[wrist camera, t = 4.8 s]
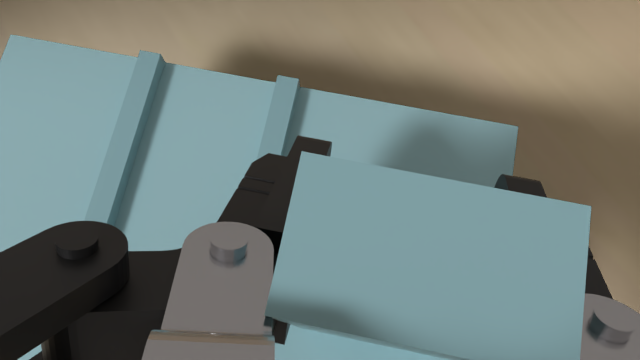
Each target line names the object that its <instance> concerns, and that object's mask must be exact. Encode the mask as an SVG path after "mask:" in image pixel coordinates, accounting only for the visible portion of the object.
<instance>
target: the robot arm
mask: <svg viewBox="0 0 640 360" xmlns="http://www.w3.org/2000/svg"><path fill="white" fill-rule="evenodd" d="M331 149H332V142H331V141H325V140H320V139H315V138H309V137H304V136H299V135H298V136H297V137H296V139H295V141H294V144H293V146H292V148H291V150H290V152H289V154H288V156H281V155H276V154H271V153H268V154H266V155H264V156H263V157H261V158H259V159H257V160H255V161H254V162H252V163H251V165H250V167H249V169H248V170H247V172H246V174H245V175H244V178H243V179H242V180H241V182H240V184H239V185H238V189H236V190H235V192H234V194H233V196H232V197H231V199H230V201H229V202H228V204H227V206H226V207H225V209H224V211H223V212H222V214H221V216H220V217H219V219H218V221H217V222H216V223H210V224H207V225H204V226H201V227H199V228H197V229H195V230H194V231H192V232H191V233H190V234H189V235H188V236H187V237H186V239H185V240H184V243H183V246H182V248H179V249H174V250H165V251H128V241H127V238H126V236H125V234H124V233H123V232H122V231H121V230H119V229H118V228H116V227H114V226H112V225H110V224H107V223H103V222H97V221H74V222H67V223H63V224H59V225H56V226H53V227H51V228H48V229H46V230H44V231H42V232H40V233H38V234H36V235H34V236H32V237H30V238H28V239H26V240H24V241H22V242H20V243H18V244H16V245H14V246H12V247H10V248H8V249H6V250H4V251H2V252H0V360H18V359H19V358H21V357H22V356H24V355H25V354H27V353H28V352H30V351H31V350H33V349H34V348H36V347H37V346H39V345H40V344H41V348H42V351H41V352H39V353H38V354H36V355H35V356H33V357H32V358H31V359H29V360H275V343H278V344H283V345H285V341H286V338H287V335H288V331H289V328H290V324H289V323H285V322H282V321H279V320H276V319H273V318H272V317H268V316H264V314H265V310H266V306H267V301H268V297H269V292H270V288H271V284H272V279H273V275H274V270H275V266H276V262H277V257H278V253H279V248H280V244H281V240H282V235H283V231H284V227H285V222H286V218H287V213H288V209H289V205H290V200H291V196H292V191H293V187H294V183H295V178H296V174H297V169H298V165H299V161H300V156H301V152H302V151H303V152H309V153H314V154H319V155H324V156H331ZM494 188H498V189H503V190H508V191H514V192H519V193H524V194H530V195H535V196H540V197H545V198H547V197H546V194H545V192H544V189H543V187H542V184H541V182H540V181H537V180H531V179H526V178H521V177H515V176H510V175H505V174H501V175H500V176H499V178H498V180H497V182H496V184H495V187H494ZM580 360H640V314H638V313H637V312H636V311H634V310H633V309H631V308H629V307H628V306H626V305H624V304H622V303H620V302H618V301H616V300H613V298H612V296H611V294H610V292H609V290H608V287H607V285H606V283H605V281H604V279H603V277H602V274H601V272H600V270H599V268H598V266H597V263H596V261H595V260H593V255H592V253H591V250H590V248H589V246H588V258H587V271H586V285H585V298H584V311H583V325H582V338H581V351H580Z"/></svg>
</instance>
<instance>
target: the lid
mask: <svg viewBox="0 0 640 360" xmlns="http://www.w3.org/2000/svg"><path fill="white" fill-rule="evenodd" d="M517 133H518V126H513V125H508V124H502V123H497V122H491V121H486V120H480V119H475V118H469V117H464V116H458V115H453V114H447V113H441V112H436V111H430V110H425V109H419V108H414V107H408V106H403V105H397V104H392V103H386V102H381V101H375V100H370V99H364V98H359V97H353V96H348V95H342V94H337V93H331V92H326V91H320V90H315V89H309V88H304V87H300V84H299V79H297V78H291V77H285V76H280V75H278V76H277V80H276V82H270V81H265V80H259V79H254V78H248V77H243V76H237V75H232V74H226V73H221V72H215V71H210V70H204V69H199V68H193V67H188V66H182V65H177V64H171V63H166V62H165V61H164V59H163V57H162V56H161V54H158V53H152V52H147V51H141V50H140V52H139V55H138V57H132V56H127V55H121V54H116V53H110V52H105V51H99V50H94V49H88V48H83V47H77V46H72V45H66V44H61V43H55V42H50V41H44V40H39V39H33V38H28V37H22V36H17V35H10V38H9V40H8V43H7V45H6V48H5V50H4V53H3V55H2V58H1V60H0V252H2V251H4V250H6V249H8V248H10V247H12V246H14V245H16V244H18V243H20V242H22V241H24V240H26V239H28V238H30V237H32V236H34V235H36V234H38V233H40V232H42V231H44V230H46V229H48V228H51V227H53V226H56V225H59V224H63V223H67V222H74V221H97V222H103V223H107V224H110V225H112V226H114V227H116V228H118V229H119V230H121V231H122V232H123V233H124V234H125V236H126V238H127V241H128V251H165V250H174V249H179V248H182V246H183V243H184V240H185V239H186V237H187V236H188V235H189V234H190V233H191V232H192V231H194V230H195V229H197V228H199V227H201V226H204V225H207V224H210V223H216V222H217V221H218V219H219V217H220V216H221V214H222V212H223V211H224V209H225V207H226V206H227V204H228V202H229V201H230V199H231V197H232V196H233V194H234V192H235V190H236V189H238V185H239V184H240V182H241V180H242V179H243V178H244V175H245V174H246V172H247V170H248V169H249V167H250V165H251V163H252V162H254V161H255V160H257V159H259V158H261V157H263V156H264V155H266V154H268V153H271V154H276V155H281V156H288V154H289V152H290V150H291V148H292V146H293V144H294V141H295V139H296V137H297V136H298V135H299V136H304V137H309V138H315V139H320V140H325V141H331V142H332V149H331V156H324V155H319V154H314V153H309V152H303V151H302V152H301V156H300V161H299V165H298V169H297V174H296V178H295V183H294V187H293V191H292V196H291V200H290V205H289V209H288V213H287V218H286V222H285V227H284V231H283V235H282V240H281V244H280V248H279V253H278V257H277V262H276V266H275V270H274V275H273V279H272V284H271V288H270V292H269V297H268V301H267V306H266V310H265V314H264V316H268V317H272V318H273V319H276V320H279V321H282V322H285V323H289V324H290V328H289V331H288V335H287V338H286V341H285V345H283V344H278V343H275V360H580V351H581V338H582V325H583V311H584V298H585V285H586V271H587V258H588V245H589V232H590V218H591V206H587V205H582V204H577V203H572V202H566V201H561V200H556V199H551V198H545V197H540V196H535V195H530V194H524V193H519V192H514V191H508V190H503V189H498V188H494V187H495V184H496V182H497V180H498V178H499V176H500V175H501V174H505V175H510V176H513V168H514V159H515V151H516V142H517ZM41 351H42V348H41V344H40V345H39V346H37V347H36V348H34V349H33V350H31V351H30V352H28V353H27V354H25V355H24V356H22V357H21V358H19V359H18V360H29V359H31V358H32V357H33V356H35V355H36V354H38V353H39V352H41Z"/></svg>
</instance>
